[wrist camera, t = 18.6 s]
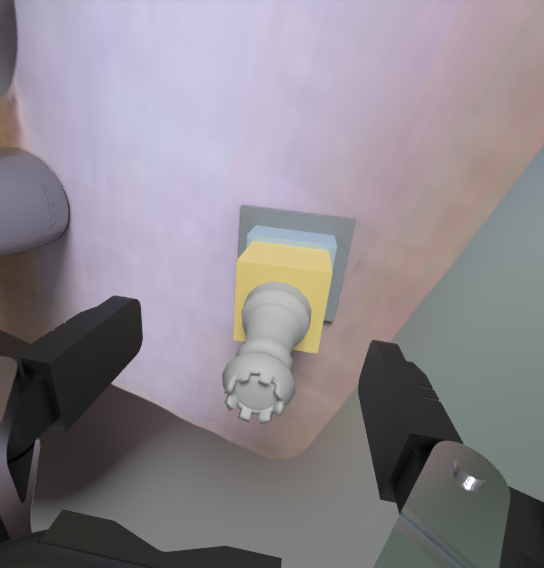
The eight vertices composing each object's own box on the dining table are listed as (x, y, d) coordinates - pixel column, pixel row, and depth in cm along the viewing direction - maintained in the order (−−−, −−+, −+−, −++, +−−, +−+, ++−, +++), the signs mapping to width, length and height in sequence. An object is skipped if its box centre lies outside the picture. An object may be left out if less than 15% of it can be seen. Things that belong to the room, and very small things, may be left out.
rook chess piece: (285, 349, 20) (268, 455, 13) (232, 314, 20) (183, 403, 12) (326, 304, 18) (332, 397, 11) (268, 264, 18) (235, 335, 11)
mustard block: (248, 307, 25) (233, 340, 20) (252, 240, 23) (236, 260, 18) (317, 318, 24) (317, 353, 20) (329, 250, 22) (332, 273, 18)
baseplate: (237, 302, 30) (225, 323, 26) (242, 204, 26) (229, 212, 22) (333, 317, 29) (336, 342, 25) (354, 218, 25) (361, 229, 21)
